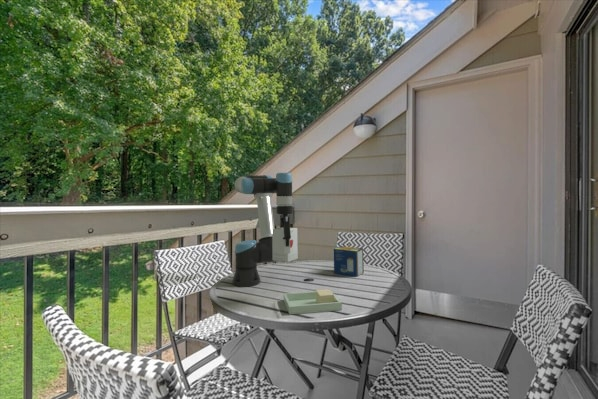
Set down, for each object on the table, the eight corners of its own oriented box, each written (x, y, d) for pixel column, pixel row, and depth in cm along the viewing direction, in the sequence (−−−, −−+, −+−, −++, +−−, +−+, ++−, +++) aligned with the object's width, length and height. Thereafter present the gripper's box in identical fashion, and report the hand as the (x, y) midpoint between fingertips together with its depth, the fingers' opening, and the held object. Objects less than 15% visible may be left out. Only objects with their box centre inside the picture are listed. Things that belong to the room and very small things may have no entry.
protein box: (341, 270, 200) (341, 246, 200) (363, 273, 191) (363, 248, 191) (333, 273, 192) (333, 248, 192) (356, 277, 183) (356, 250, 183)
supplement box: (287, 262, 142) (287, 229, 142) (272, 260, 147) (271, 228, 146) (298, 258, 150) (298, 227, 149) (283, 256, 154) (282, 226, 154)
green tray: (283, 302, 142) (283, 293, 142) (330, 298, 146) (330, 290, 146) (289, 316, 125) (289, 306, 125) (341, 312, 129) (341, 302, 129)
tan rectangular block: (315, 301, 140) (315, 290, 140) (328, 300, 141) (328, 289, 141) (320, 307, 132) (320, 295, 132) (334, 306, 133) (333, 294, 133)
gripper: (296, 206, 136) (297, 255, 137) (288, 204, 160) (289, 246, 161) (279, 206, 135) (280, 256, 136) (273, 204, 159) (274, 246, 159)
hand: (285, 250), depth 148 cm, fingers closed on supplement box, 12 cm apart
